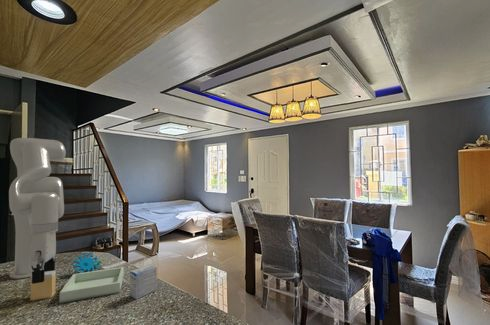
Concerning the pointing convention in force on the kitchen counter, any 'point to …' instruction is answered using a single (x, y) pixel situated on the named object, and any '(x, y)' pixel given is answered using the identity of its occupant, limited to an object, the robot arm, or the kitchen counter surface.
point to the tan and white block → (44, 287)
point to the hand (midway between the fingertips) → (44, 277)
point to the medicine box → (143, 281)
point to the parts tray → (92, 284)
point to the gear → (86, 263)
